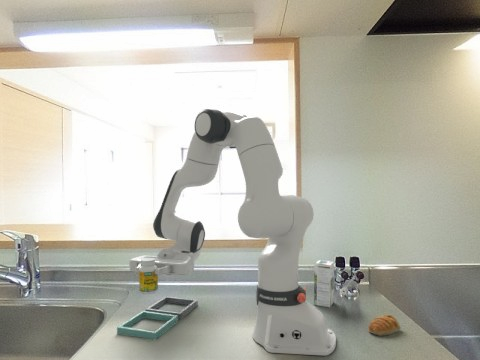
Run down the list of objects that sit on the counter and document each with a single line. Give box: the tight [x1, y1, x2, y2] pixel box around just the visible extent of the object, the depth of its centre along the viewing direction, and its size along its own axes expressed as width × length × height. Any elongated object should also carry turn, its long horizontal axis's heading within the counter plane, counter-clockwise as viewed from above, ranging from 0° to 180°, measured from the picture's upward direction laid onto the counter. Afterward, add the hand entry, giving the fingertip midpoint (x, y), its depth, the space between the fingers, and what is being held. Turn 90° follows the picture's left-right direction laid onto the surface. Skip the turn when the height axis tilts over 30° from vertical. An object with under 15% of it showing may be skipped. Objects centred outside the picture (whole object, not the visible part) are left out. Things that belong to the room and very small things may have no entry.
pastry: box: [368, 314, 402, 336], centre depth 99 cm, size 9×7×4 cm
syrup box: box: [313, 259, 335, 308], centre depth 120 cm, size 6×6×14 cm
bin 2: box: [144, 296, 199, 320], centre depth 116 cm, size 13×13×2 cm
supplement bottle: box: [138, 258, 159, 295], centre depth 102 cm, size 5×5×10 cm
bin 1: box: [116, 310, 179, 340], centre depth 102 cm, size 13×13×2 cm
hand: (146, 271), depth 101 cm, fingers closed on supplement bottle, 5 cm apart
